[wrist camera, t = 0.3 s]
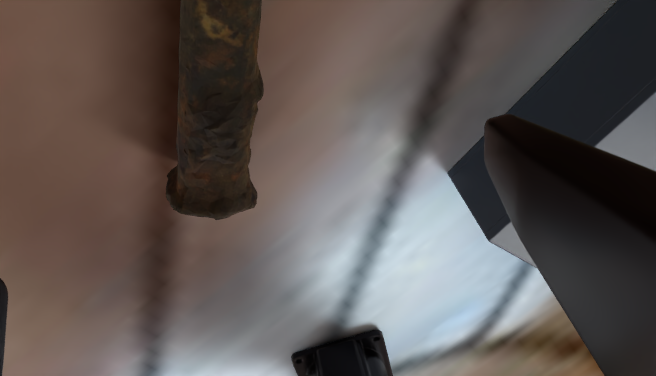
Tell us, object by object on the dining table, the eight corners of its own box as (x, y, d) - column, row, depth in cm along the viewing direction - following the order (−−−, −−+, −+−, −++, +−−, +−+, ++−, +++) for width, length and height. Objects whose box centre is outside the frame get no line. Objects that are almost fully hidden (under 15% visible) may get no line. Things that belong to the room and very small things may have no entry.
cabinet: (639, -22, 24) (734, 20, 19) (740, 101, 29) (831, 155, 25) (446, 173, 29) (488, 241, 24) (564, 246, 34) (615, 312, 30)
